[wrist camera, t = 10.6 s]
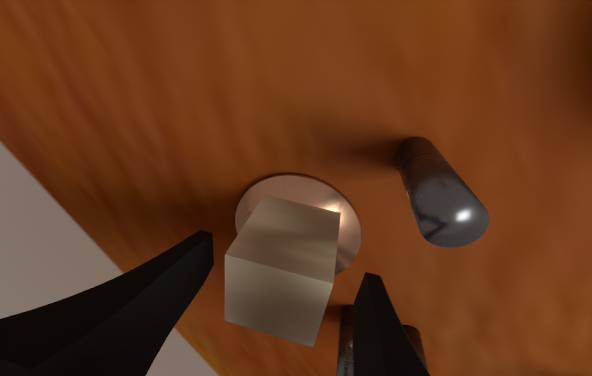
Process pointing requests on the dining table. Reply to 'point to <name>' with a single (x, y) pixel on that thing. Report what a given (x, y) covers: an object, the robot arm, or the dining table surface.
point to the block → (282, 269)
